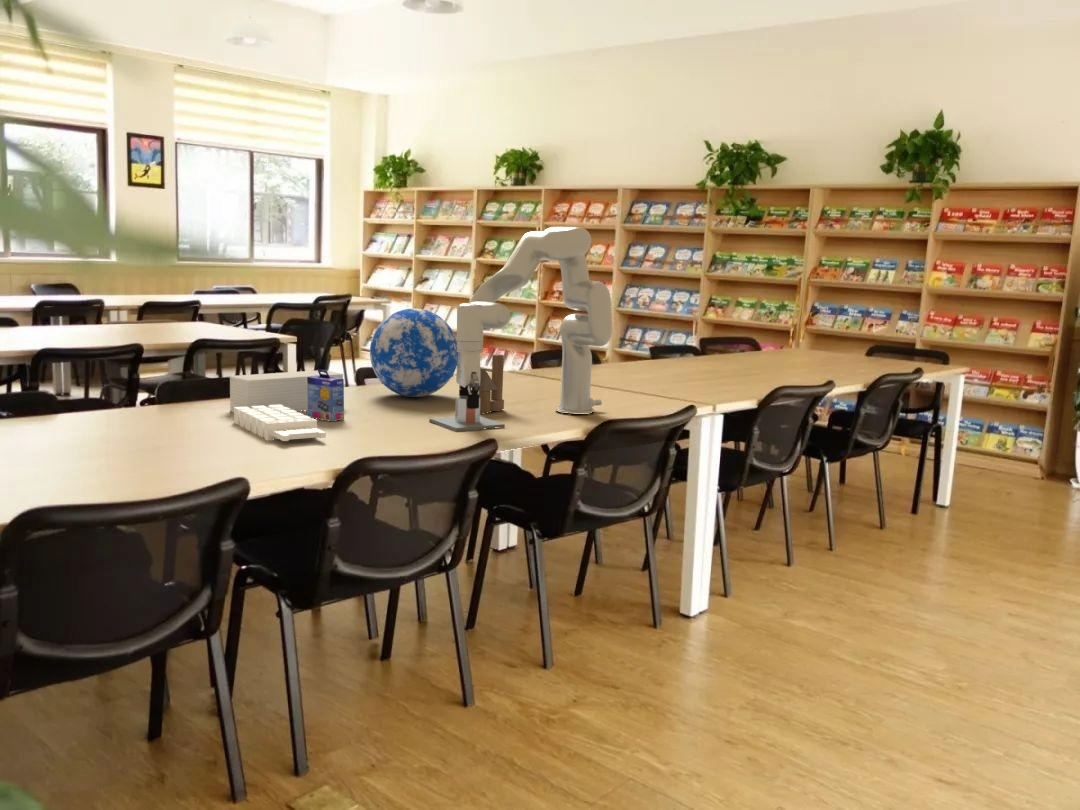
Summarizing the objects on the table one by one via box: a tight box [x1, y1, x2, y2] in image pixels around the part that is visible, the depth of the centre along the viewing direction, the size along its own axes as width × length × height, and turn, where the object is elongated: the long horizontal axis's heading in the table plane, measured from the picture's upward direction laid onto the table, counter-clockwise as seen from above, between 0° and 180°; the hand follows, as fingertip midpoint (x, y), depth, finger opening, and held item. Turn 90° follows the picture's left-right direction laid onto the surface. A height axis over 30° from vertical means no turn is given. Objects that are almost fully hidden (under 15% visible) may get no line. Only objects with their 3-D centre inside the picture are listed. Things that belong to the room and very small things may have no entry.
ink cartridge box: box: [307, 369, 345, 422], centre depth 273 cm, size 10×6×14 cm, turn 59°
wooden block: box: [479, 353, 505, 413], centre depth 297 cm, size 4×11×18 cm, turn 145°
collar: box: [454, 395, 481, 423], centre depth 274 cm, size 7×7×7 cm
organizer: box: [233, 404, 327, 442], centre depth 252 cm, size 13×5×35 cm
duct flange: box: [428, 415, 506, 432], centre depth 274 cm, size 16×16×6 cm
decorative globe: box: [369, 307, 458, 398], centre depth 320 cm, size 30×30×30 cm
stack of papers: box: [229, 369, 344, 413], centre depth 287 cm, size 32×11×11 cm, turn 135°
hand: (468, 405), depth 274 cm, fingers open, 9 cm apart
